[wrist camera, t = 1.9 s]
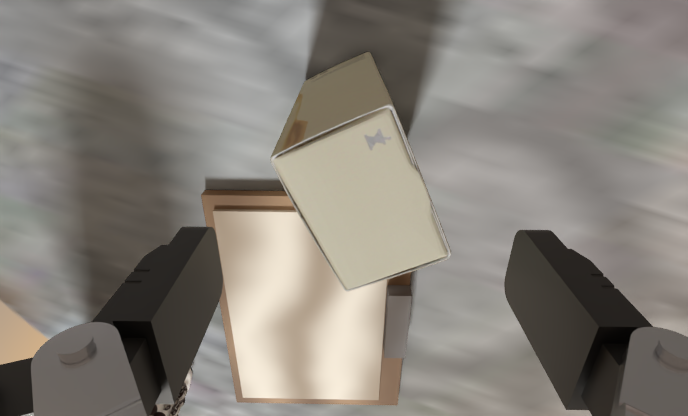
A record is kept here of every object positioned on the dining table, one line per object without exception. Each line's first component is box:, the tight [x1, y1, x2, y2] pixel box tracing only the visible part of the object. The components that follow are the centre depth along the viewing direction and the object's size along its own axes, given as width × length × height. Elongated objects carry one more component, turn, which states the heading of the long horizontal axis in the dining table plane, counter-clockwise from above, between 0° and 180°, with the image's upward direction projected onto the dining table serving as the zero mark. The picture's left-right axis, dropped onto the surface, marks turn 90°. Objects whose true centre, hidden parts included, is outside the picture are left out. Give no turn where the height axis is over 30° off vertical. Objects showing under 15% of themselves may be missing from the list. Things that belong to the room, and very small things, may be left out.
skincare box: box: [271, 52, 451, 291], centre depth 19 cm, size 6×4×12 cm
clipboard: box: [201, 190, 412, 405], centre depth 30 cm, size 14×20×2 cm
